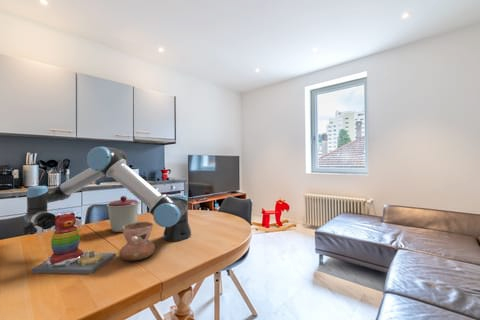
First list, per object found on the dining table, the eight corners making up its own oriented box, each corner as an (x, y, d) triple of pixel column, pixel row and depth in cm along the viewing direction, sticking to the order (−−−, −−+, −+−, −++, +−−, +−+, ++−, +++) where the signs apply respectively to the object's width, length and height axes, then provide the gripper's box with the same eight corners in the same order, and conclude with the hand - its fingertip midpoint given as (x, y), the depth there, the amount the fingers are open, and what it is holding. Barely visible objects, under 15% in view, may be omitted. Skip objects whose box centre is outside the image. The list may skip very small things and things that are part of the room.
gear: (95, 252, 98) (95, 249, 98) (68, 268, 83) (68, 265, 83) (64, 252, 98) (64, 249, 99) (32, 268, 84) (32, 264, 84)
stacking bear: (51, 264, 83) (50, 218, 84) (47, 257, 90) (46, 214, 90) (84, 255, 92) (84, 213, 92) (78, 249, 98) (78, 209, 98)
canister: (102, 230, 135) (102, 196, 135) (132, 223, 149) (132, 193, 149) (113, 236, 123) (113, 199, 123) (144, 229, 137) (144, 195, 137)
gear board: (115, 256, 97) (115, 245, 98) (91, 273, 82) (91, 260, 83) (64, 255, 99) (64, 244, 99) (31, 272, 84) (31, 259, 84)
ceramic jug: (152, 263, 90) (153, 228, 91) (113, 267, 87) (114, 231, 87) (157, 247, 108) (157, 218, 108) (125, 250, 104) (125, 220, 104)
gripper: (75, 221, 114) (94, 228, 103) (6, 235, 93) (21, 245, 82) (74, 207, 114) (94, 212, 103) (6, 218, 93) (21, 225, 82)
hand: (61, 227), depth 92 cm, fingers open, 13 cm apart
